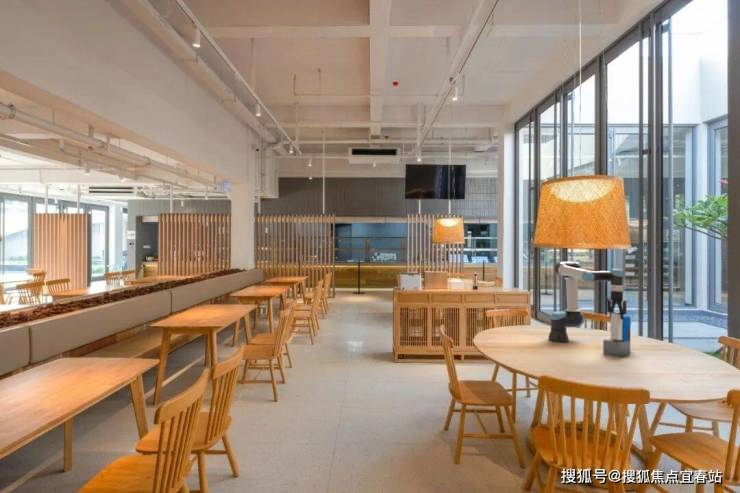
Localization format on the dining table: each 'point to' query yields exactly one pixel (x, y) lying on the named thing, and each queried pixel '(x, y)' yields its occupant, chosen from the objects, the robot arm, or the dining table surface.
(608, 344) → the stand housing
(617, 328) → the column
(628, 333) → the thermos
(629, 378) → the dining table surface
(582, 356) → the dining table surface
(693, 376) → the dining table surface
